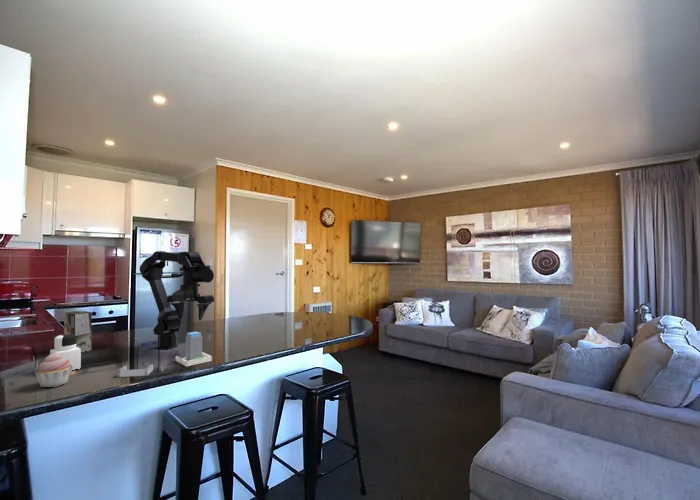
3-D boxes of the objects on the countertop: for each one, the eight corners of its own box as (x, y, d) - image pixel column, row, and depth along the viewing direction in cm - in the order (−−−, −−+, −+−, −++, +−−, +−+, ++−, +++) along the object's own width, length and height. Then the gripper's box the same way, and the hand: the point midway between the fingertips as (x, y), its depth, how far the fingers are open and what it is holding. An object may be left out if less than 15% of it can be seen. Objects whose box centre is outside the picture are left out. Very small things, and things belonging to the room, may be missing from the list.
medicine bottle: (74, 365, 130) (75, 331, 130) (80, 369, 125) (81, 334, 125) (49, 370, 124) (50, 335, 124) (54, 374, 120) (55, 338, 120)
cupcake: (81, 379, 115) (81, 348, 115) (55, 390, 106) (56, 356, 106) (52, 379, 115) (53, 347, 116) (25, 390, 106) (25, 356, 106)
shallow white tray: (124, 371, 123) (124, 365, 123) (153, 369, 125) (153, 364, 125) (116, 377, 117) (116, 371, 117) (147, 375, 119) (147, 369, 119)
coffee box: (92, 350, 149) (92, 311, 150) (74, 354, 144) (75, 314, 144) (80, 347, 154) (80, 310, 154) (62, 351, 148) (63, 312, 148)
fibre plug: (185, 359, 136) (185, 332, 136) (196, 357, 139) (197, 331, 139) (190, 362, 133) (190, 334, 133) (202, 359, 136) (202, 332, 136)
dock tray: (175, 360, 136) (175, 355, 136) (200, 355, 143) (200, 350, 143) (186, 366, 129) (186, 360, 129) (211, 360, 136) (212, 355, 136)
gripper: (156, 283, 143) (156, 322, 143) (197, 283, 139) (197, 324, 139) (176, 281, 154) (176, 317, 154) (214, 281, 150) (214, 319, 150)
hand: (190, 319), depth 149 cm, fingers open, 9 cm apart
